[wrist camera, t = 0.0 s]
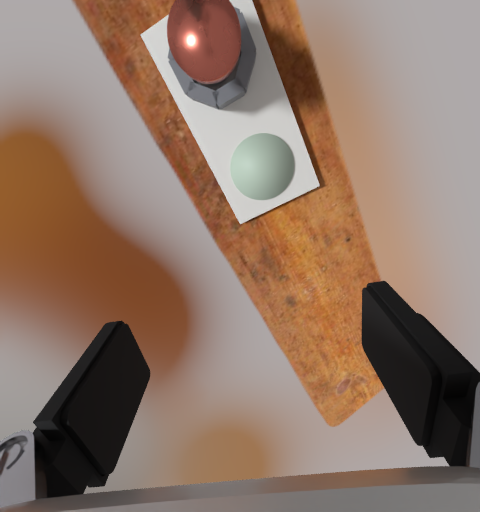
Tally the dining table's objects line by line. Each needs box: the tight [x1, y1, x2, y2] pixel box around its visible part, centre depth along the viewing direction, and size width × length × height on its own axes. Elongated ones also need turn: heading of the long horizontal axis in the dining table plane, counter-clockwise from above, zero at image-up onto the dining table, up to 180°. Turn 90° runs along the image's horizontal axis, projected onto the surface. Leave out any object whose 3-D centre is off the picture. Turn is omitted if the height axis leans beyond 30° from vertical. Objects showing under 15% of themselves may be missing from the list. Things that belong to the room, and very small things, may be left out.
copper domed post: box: [167, 0, 241, 84], centre depth 27 cm, size 6×6×10 cm
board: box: [141, 0, 320, 224], centre depth 32 cm, size 26×13×5 cm, turn 27°
